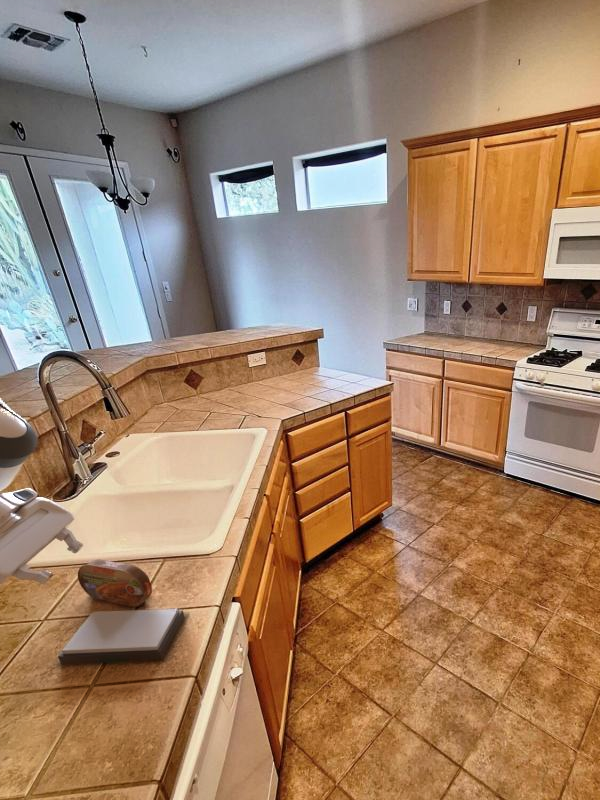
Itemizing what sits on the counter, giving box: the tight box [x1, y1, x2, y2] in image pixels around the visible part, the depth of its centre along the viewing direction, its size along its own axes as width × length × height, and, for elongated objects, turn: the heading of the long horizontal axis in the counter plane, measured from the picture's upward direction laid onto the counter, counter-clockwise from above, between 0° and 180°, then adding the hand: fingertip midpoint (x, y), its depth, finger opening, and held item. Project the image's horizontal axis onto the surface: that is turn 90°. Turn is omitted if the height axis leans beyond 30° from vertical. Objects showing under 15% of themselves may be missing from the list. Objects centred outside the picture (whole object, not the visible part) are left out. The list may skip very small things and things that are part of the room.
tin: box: [77, 559, 153, 608], centre depth 83 cm, size 15×3×8 cm, turn 76°
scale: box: [57, 608, 186, 666], centre depth 75 cm, size 16×10×3 cm, turn 94°
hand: (65, 563), depth 81 cm, fingers open, 8 cm apart
